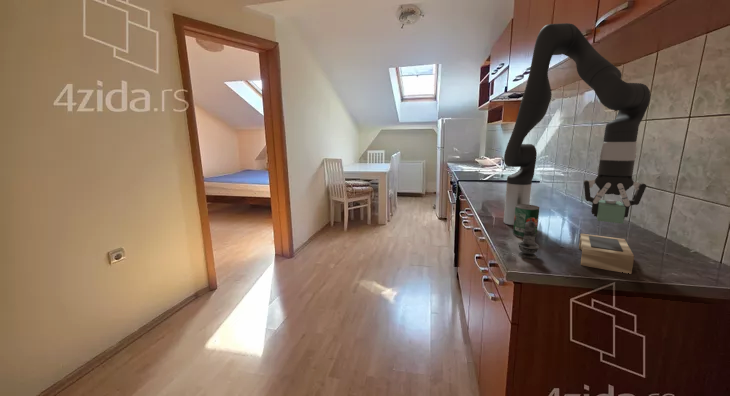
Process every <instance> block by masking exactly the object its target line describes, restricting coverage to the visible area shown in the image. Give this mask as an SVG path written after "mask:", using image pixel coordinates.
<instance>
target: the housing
mask: <svg viewBox="0 0 730 396" xmlns="http://www.w3.org/2000/svg"><path fill="white" fill-rule="evenodd" d="M598 204H599V205H598V213H597V216H595V217H596V220H597V222H604V223H613V224H614V223H615V224H622V225H623V224H624V220H625V219H624V215H625V209H626V207H625V206H624V205H623V202H622V201H620V200H619V201H618V200H613V199H606V200H605V199H600V201H599V202H598Z"/></svg>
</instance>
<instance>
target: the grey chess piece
mask: <svg viewBox="0 0 730 396" xmlns="http://www.w3.org/2000/svg"><path fill="white" fill-rule="evenodd" d="M535 228H536V224H535V223H534V222H533V221H532V219H530V221H528V222H526V223H525V231H524V232H523V233H524V238H523V239H522V241H520V242H519V241H518V242H517V245H518V249H519V251H520V252H518V253H517V255H518V257H520V258H523V259H527V260H535V259H537V258H538V256H537V254H536V253H537V251H538V250H539V248H540V245H539V244H537V243H536V240H535V239H536V237H535V235H536V233H535Z"/></svg>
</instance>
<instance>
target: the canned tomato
mask: <svg viewBox="0 0 730 396" xmlns="http://www.w3.org/2000/svg"><path fill="white" fill-rule="evenodd" d="M539 214H540V206H538V205H533V204H530V205H527V204H519V205H516V206H515V218H514V225H513V230H512V234H513V235H514V236H515V237H519V238H523V239H524V233H523V232H524V231H525V223H526V222H528V221H530V219H532V221H533V222H534V223H535V224H536V228H535V233H536V235H535V238H537V235H538V226H539V225H538V224H539V217H540V216H539Z"/></svg>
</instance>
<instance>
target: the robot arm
mask: <svg viewBox="0 0 730 396" xmlns="http://www.w3.org/2000/svg"><path fill="white" fill-rule="evenodd" d="M535 39H536V40H535V44H534V47H533V52H532V58H531V62H530V63H531V64H530V67H529V68H530V69H529V74H528V76H527V77H528V78H527V80H526V85H525V89H524V92H523V95H522V96H521V97H522V99H521V101H520V105H519V109H518V113H517V117H516V119H515V120H516V121H515V123H514V126H513V129H512V132H511V134H510V137H509V140H508V143H507V145H506V148H505V151H504V155H503V161H504V164H505V166H506V167H509V168H519V169H518V170H517V171H516V172H515V173H512V174H509V175H508V176H507V177H506V187H505V188H506V191H505V201H504V213H503V223H504V224H506V225H509V226H514V218H515V206H516V205H519V204H527V205H531V203H530V202H531V195H532V193H531V192H532V183H533V179H534V176H535V169H536V163H537V155H538V154H537V148H536V146H535V145H534V144H530V143H523V142H524V140H525V139H526V137H527V136H528V134H529V133H530V132H531V131H532V130H533V129H534V128H535V127H536V126H537V125H538V124H539V123H540V122H541V121H542V120H543V119H544V117H545V116H546V114H547V111H548V109H549V106H550V103H551V100H552V89H551V88H552V87H551V84H550V80H549V79H550V78H549V67H550V65H551V61H552V58H553V56H560V55H561V56H562V55H563V56H566V57H568V58H570V59H571V60H572V61H574V63H575V67H576V71H577V74H578V75H579V78H581V80H582V81H583V82H584V83H585V84H586V85H588V86H589V87H590V88H591V89H592V90H593V91H594V93H595V95H596V96H597V98H598V101H599V102H600V104H602V105H603V106H604V107H605V108H607V109H609V110H613V111H618V112H617V115H616V118H615V119H613V120H610V121H609V122H607V123H606V125H605V127H604V128H605V129H604V132H603V133H604V134H603V143H602V146H601V149H600V154H599V163H598V164H599V165H598V168H597V169H598V170H597V177H596V178H595V179H591V180H588V179H585V180H583V188H584V198H585V201H586V202H589V203H591V211H590V213H591V214H592V215H593V217H596V216H597V213H598V205H599V204H598V202H599V201H600V200H602V198H603V197H604V196H605V195H615V196H619V197H620V199H621V202H622V204H623V205H624V206H625V207H626V209H625V215H624V220H625V219H626V218H628V216H629V212H630V208H631V206H637V205H640V202H641V200H642V198H643V195H644V193H645V191H646V189H647V184H645V183H644V182H636V181H634V179H633V174H634V167H635V161H636V157H637V140H638V135H639V127H640V124H641V123H642V120H643V119H644V116H645V114H646V111H647V109H648V107H649V105H650V101H651V91H650V89H649V87H648V86H647V85H646V84H644V83H640V82H627V81H624V80H623V79H622V76H623V75H622V71H621V70H620V69H619V68H618V67H617V66H616V65H614V64H613V63H611V62H610V61H609V60H608V59H606V58H605V57H604V56H602V55H601V54H600V53H599V52H598V51H597V50H596V49H595V48H594V47H593V45H592V44H591V43H590V42H589V40H588V39H587V37H586V36H585V35H584V34H583V33H582V31H581V30H580V29H579V28H578V27H577V26H576V25H574V23H569V22H568V23H566V22H565V23H549V24H546V25H544V26H543V27H542V28H541V29H540V31H539V32H538V34H537V36H536V38H535ZM594 184H596V185H595V186H596V187H598V191H597V193H595V195H594V197H592V196H591V188H593V187H594ZM631 187H633V189H634V190H635V193H634V195H633V197H632V199H630V200H629V198H628V195H627V193H626V192H627V191H628V190H629V189H630V188H631Z"/></svg>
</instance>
